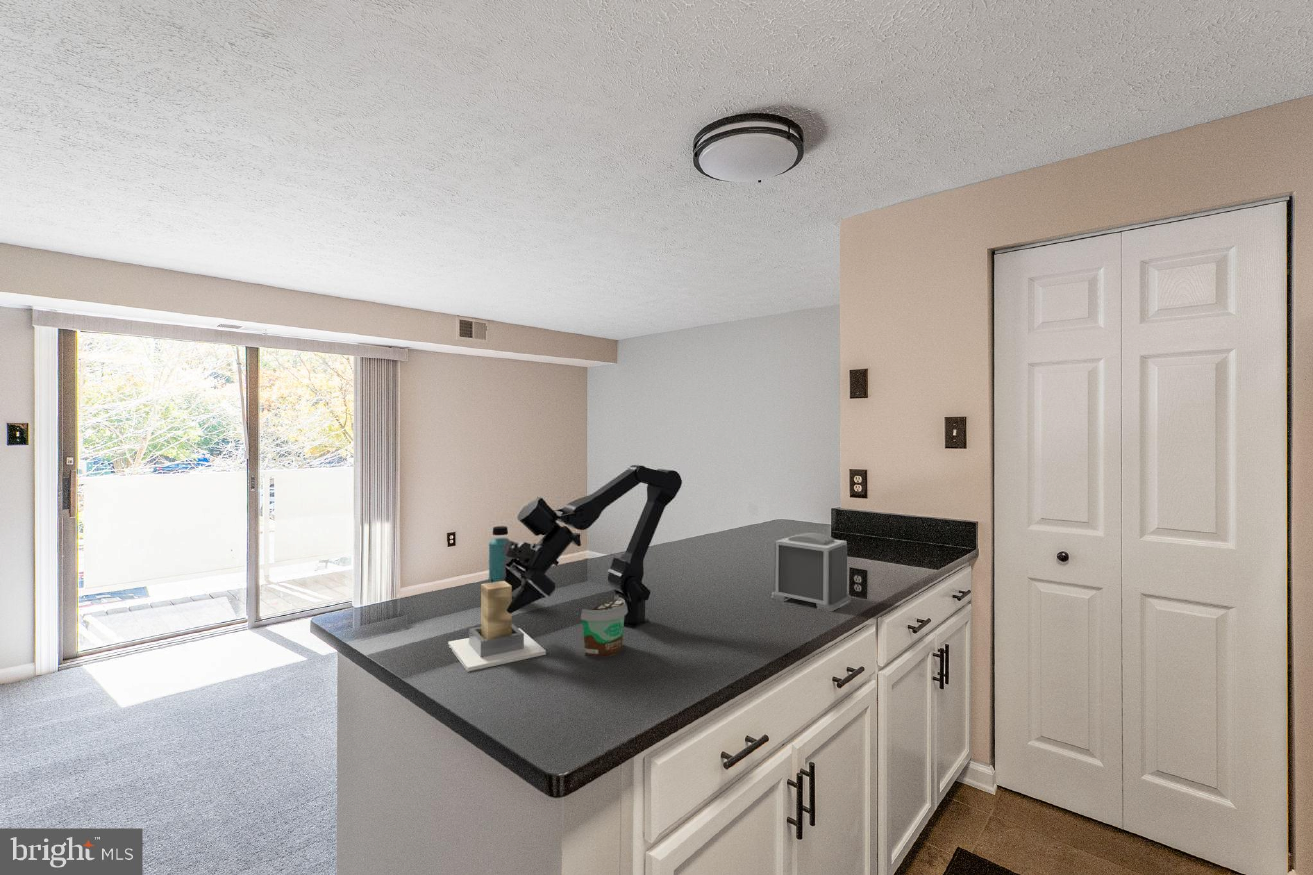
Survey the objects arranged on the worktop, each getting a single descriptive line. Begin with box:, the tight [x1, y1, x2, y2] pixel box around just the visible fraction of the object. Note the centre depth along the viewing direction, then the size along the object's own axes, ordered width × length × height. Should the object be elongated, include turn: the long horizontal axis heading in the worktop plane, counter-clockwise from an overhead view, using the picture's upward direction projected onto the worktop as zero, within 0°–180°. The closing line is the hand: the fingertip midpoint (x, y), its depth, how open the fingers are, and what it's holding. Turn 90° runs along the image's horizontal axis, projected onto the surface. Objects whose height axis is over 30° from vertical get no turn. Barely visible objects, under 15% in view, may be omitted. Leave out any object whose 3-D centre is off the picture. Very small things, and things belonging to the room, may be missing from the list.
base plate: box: [447, 627, 547, 673], centre depth 121 cm, size 16×16×1 cm
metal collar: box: [468, 623, 524, 658], centre depth 121 cm, size 9×9×3 cm
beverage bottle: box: [488, 525, 510, 583], centre depth 159 cm, size 6×7×20 cm
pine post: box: [480, 581, 513, 639], centre depth 121 cm, size 5×5×13 cm
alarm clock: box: [771, 532, 852, 608], centre depth 159 cm, size 18×13×18 cm
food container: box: [580, 595, 628, 658], centre depth 121 cm, size 12×6×10 cm, turn 148°
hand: (501, 606), depth 122 cm, fingers open, 9 cm apart
